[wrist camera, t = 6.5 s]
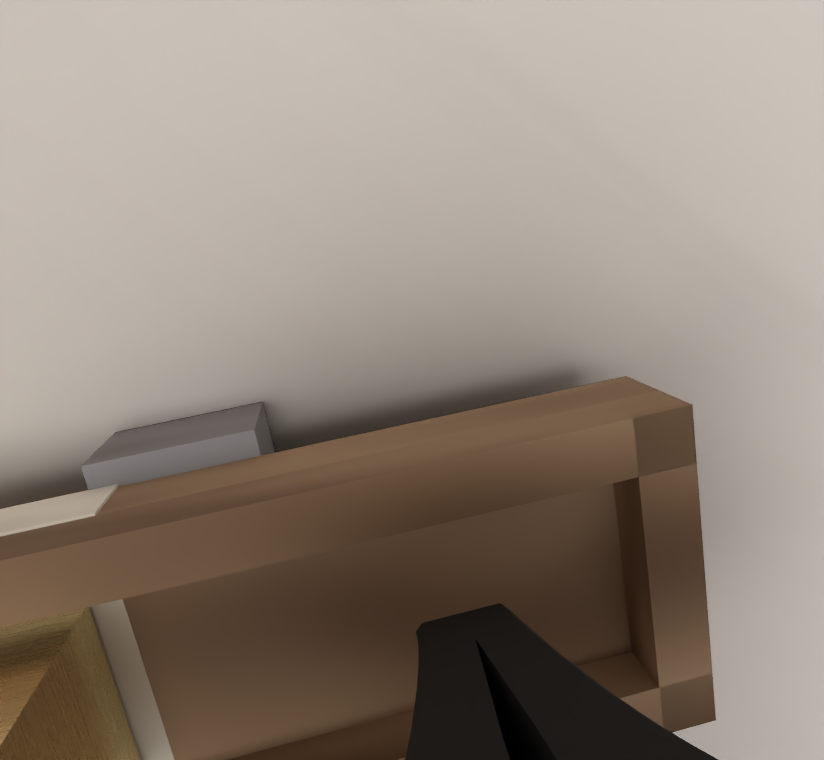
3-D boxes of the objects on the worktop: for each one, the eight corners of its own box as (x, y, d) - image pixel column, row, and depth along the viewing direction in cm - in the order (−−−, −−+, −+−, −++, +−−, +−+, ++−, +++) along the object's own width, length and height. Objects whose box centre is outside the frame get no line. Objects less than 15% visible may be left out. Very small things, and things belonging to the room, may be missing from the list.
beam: (612, 612, 16) (717, 743, 12) (-123, 802, 14) (-303, 1035, 10) (580, 335, 14) (690, 374, 10) (-260, 510, 12) (-545, 645, 8)
